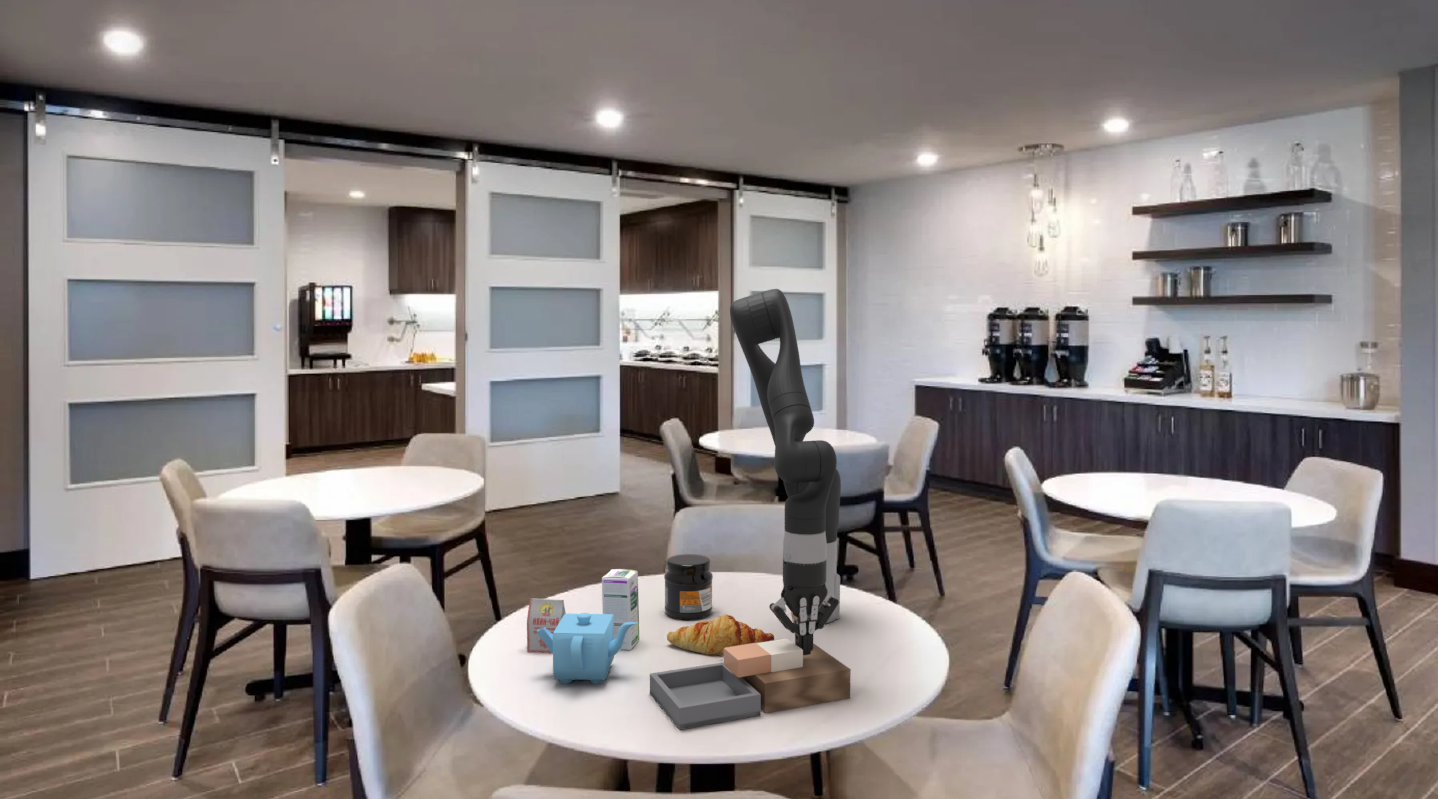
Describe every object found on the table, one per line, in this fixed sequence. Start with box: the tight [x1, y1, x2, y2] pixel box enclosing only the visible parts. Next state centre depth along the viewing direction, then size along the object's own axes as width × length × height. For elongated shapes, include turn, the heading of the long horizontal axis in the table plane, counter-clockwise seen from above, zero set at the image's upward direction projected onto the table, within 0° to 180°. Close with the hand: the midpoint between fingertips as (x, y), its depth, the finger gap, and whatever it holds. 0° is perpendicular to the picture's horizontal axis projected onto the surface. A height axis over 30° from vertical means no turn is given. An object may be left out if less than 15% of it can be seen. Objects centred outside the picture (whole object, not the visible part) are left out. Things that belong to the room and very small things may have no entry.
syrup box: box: [601, 568, 640, 651], centre depth 179 cm, size 6×6×14 cm
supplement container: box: [663, 553, 714, 621], centre depth 198 cm, size 10×10×12 cm
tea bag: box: [526, 598, 567, 654], centre depth 177 cm, size 4×7×10 cm, turn 81°
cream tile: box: [756, 637, 803, 672], centre depth 157 cm, size 6×6×3 cm
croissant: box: [666, 614, 775, 656], centre depth 178 cm, size 21×10×8 cm
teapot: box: [537, 612, 637, 685], centre depth 164 cm, size 16×18×11 cm
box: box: [649, 661, 762, 731], centre depth 152 cm, size 14×15×4 cm
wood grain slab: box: [742, 642, 852, 714], centre depth 158 cm, size 16×14×5 cm
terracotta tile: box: [723, 643, 771, 678], centre depth 155 cm, size 6×6×3 cm
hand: (803, 653), depth 158 cm, fingers closed
